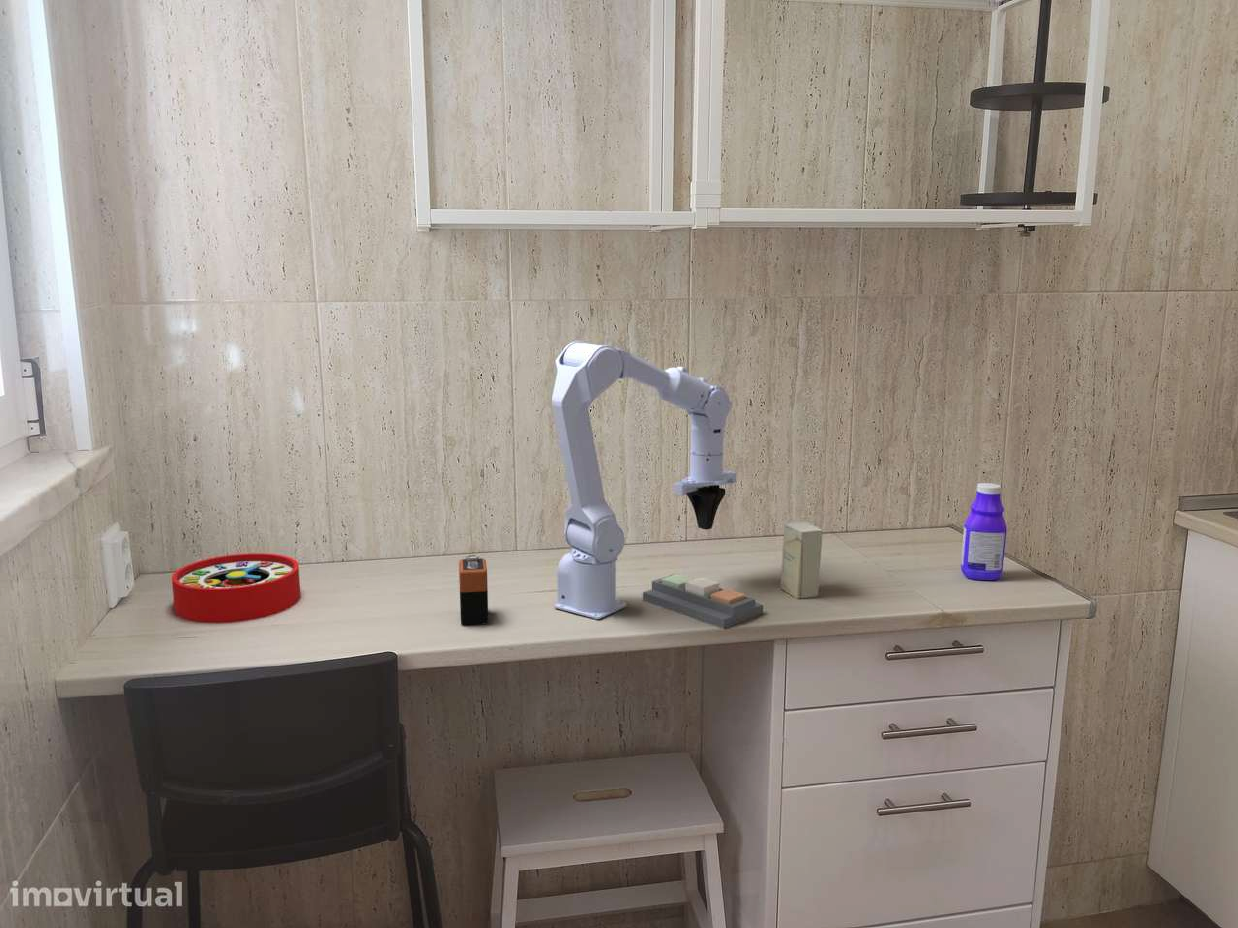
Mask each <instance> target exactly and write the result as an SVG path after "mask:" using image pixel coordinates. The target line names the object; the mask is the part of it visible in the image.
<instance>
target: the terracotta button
mask: <svg viewBox="0 0 1238 928" xmlns="http://www.w3.org/2000/svg"><path fill="white" fill-rule="evenodd" d="M723 589H724V590H721V591H718V592H716V593H713V594H710V599H713V600H716V601H719V602H722V603H725V604H729V605H730V604H733V603H736V602H739V601H741V600H744V599H745V596H746V594H744V593H741V592H738V591H735V590H731V589H728V588H723Z"/></svg>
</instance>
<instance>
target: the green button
mask: <svg viewBox="0 0 1238 928" xmlns="http://www.w3.org/2000/svg"><path fill="white" fill-rule="evenodd" d="M675 574H676V573H675ZM671 575H672V576H670V575H668V576H669V577H667V576H665V577H666V578H664V577H662V578H663V579H662V583H663V584H666V585H669V586H672V587H676V588H682V587H685V584H686V582H688V581H691V580H694V579H695V578H692V577H689V576H685V575H683V574H679V573H677V574H676V575H673V574H671Z"/></svg>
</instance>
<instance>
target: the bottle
mask: <svg viewBox="0 0 1238 928" xmlns="http://www.w3.org/2000/svg"><path fill="white" fill-rule="evenodd" d="M1001 494H1002V485H1000V484H998V483H992V482H991V483H990V482H980V483H977V487H976V495H975V499H974V501H973V502H972V504H971V505H970V510H971V512H970V514H969V515H968V517H967V518H966V520H965V522H964V526H963V535H962V536H963V537H962V545H961V546H962V547H961V549H962V550H961V558H960V568H961V572H962V574H963V576H965V577H966V578H968V579H971V580H981V581H982V580H983V581H996V580H998V579H1000V577H1001V576H1002V573H1003V570H1004V561H1005V560H1004V558H1005V552H1006V551H1005V550H1006V549H1005V548H1006V539H1007V531H1008V528H1007V527H1008V526H1007V523H1006V521H1005V518H1004V515H1003V513H1005V508H1004V505H1003V504H1002V499H1001V498H1002V497H1001V496H1002V495H1001Z"/></svg>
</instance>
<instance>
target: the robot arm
mask: <svg viewBox="0 0 1238 928" xmlns="http://www.w3.org/2000/svg"><path fill="white" fill-rule="evenodd" d="M555 367H556V371H557V373H556V377H555V382H554V387H553V392H552V396H551V406H552V411H553V415H554V421H555V427H556V432H557V436H558V437H557V438H558V441H559V447H560V450H561V456H562V461H563V466H564V467H563V468H564V472H565V476H566V477H565V478H566V481H567V488H568V492H569V497H570V503H571V505H569V506H568V508H567V509H566V510H565V511H564V515H565V526H564V531H563V537H564V540H565V542H566V544H567V545H568V546H569V547H570V552H568V553H566V554H564V555H562V557H561V559H560V561H559V563H558V566H557V572H556V573H557V574H556V576H557V577H556V578H557V580H556V581H557V593H556V594H557V603H556V604H554V608H555V609H558V610H561V611H565V612H570V613H573V614H578V615H581V616H584V617H589V618H592V619H595V620H600V619H603V618H605V617H606V616H609V615H611V614H613V613H615V612H617V611H620V610H621V609H624V608H626V607H627V603H625V602H622V601H617V595H616V594H617V593H616V592H617V588H616V587H617V585H616V584H617V583H616V582H617V581H616V578H617V573H616V572H617V568H616V567H617V563H616V561H618V557H619V556H620V554H621V553H622V551H623V549H624V546H625V540H626V539H625V534H624V531H623V529H622V528H621V527H620V525H619V524H618V521H617V517H616V514H615V512H614V510H613V509H612V508H611V506H610V505H609V504H608V502H607V501H606V499H605V494H604V489H603V488H604V487H603V483H602V482H603V481H602V476H601V471H600V467H599V465H600V464H599V461H598V455H597V450H596V449H597V448H596V446H595V439H594V434H593V433H594V432H593V429H592V422H591V417H590V411H589V408H590V406H591V405H592V403H593V402H594V400H595V399H597V398H598V397H599V396H600V395H601V394H603V393H604V392H605V391H606V390H608V389H609V388H610V387H612V386H613V385H614V384H616V382H617V381H618V379H622V380H623V379H624V380H625V378H630V379H632V380H634V381H637V382H639V383H642V384H644V385H647V386H649V387H652V388H654V389H656V392H657V393H656V394H657V396H658V398H660V399H661V400H663V401H665V402H668V403H670V404H672V405H674V406H676V407H678V408H682V409H683V410H685V411H686V413H687V414H688V415H690V444H689V445H690V446H689V447H690V449H689V451H690V452H689V453H690V454H689V476H687V477H685V478H684V479H682V480H680V481H676V482H674V483H673V494H674V495H679V496H685V495H686V496H687V497H688V499H689V502H690V503H691V506H692V508H693V512H694V514H695V517H696V523H697V527H698V529H702V530H706V531H707V530H711V529H712V528H713V524H714V521H715V517H716V514H717V511H718V509H719V506H720V504H721V502H722V500H723V498H724V497H725V495H726V489H725V488H722V487H720V486H723V485H727V484H737V472H736V471H730V470H726V471H723V468H724V467H723V465H724V464H723V463H724V461H723V460H724V431H725V426H726V425H727V418H728V415H729V414H730V412H731V409H732V404H733V402H732V401H731V400H730V396H729V393H728V392H727V390H726V389H725V388H724V387H721V386H718V385H712V384H709V383H708V380H707V378H704V377H695V376H694V375H691V374H690V373H688V369H687V368H686V367H683V366H676V367H669V368H667V369H665V370H664V369H662V368H661V367H658V366H656V365H655V364H653V363H651V362H648V361H647V360H645V359H643V358H641V357H639V356H638V355H636V354H633V353H631V352H629V351H628V350H625V349H620V348H616V347H614V346H613V345H610V344H593V343H587V342H583V341H573V342H570V343H568V344H567V345H566V346H565V347H564V348H563V350H562V351H561V353H560V354H559V355H558V356H557V358H556V359H555Z"/></svg>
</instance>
